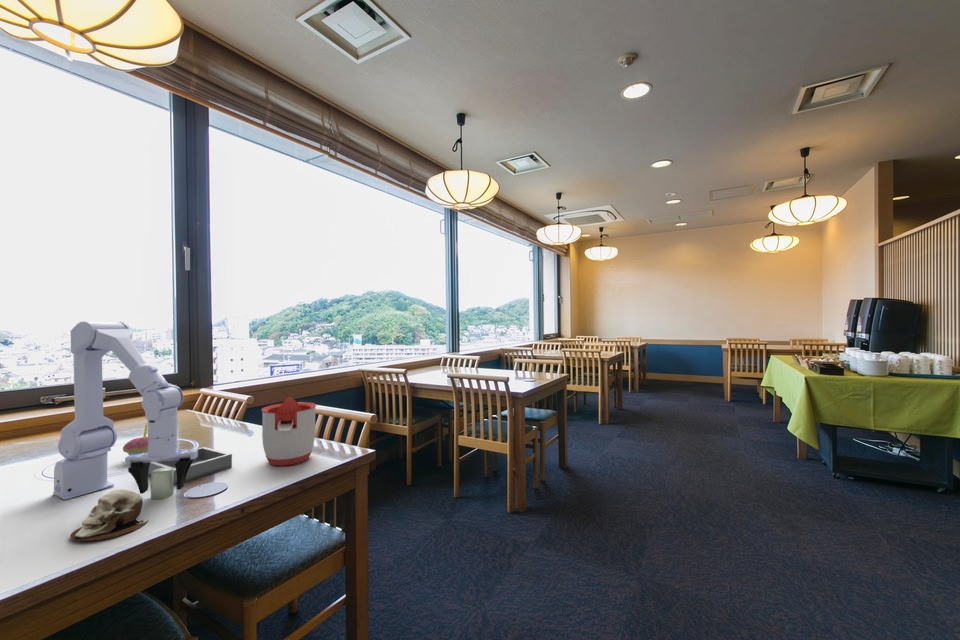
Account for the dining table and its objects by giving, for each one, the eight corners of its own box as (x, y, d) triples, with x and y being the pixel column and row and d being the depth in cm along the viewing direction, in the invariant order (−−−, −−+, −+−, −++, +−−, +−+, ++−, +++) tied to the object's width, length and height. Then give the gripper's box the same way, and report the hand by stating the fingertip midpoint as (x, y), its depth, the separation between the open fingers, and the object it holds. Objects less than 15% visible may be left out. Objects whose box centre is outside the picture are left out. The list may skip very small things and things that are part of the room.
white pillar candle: (156, 501, 95) (156, 474, 95) (147, 497, 97) (147, 471, 97) (176, 494, 99) (177, 468, 99) (168, 490, 101) (168, 465, 101)
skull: (88, 546, 74) (71, 499, 76) (72, 571, 77) (56, 525, 80) (162, 516, 84) (145, 476, 87) (145, 539, 88) (129, 500, 91)
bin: (173, 485, 104) (173, 470, 104) (146, 475, 111) (146, 461, 111) (231, 467, 117) (231, 454, 117) (204, 459, 124) (204, 446, 124)
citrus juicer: (254, 474, 112) (254, 404, 112) (266, 455, 128) (267, 394, 128) (313, 467, 116) (313, 401, 117) (318, 450, 133) (318, 391, 133)
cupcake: (165, 456, 127) (165, 419, 128) (140, 465, 119) (140, 426, 119) (141, 455, 128) (141, 418, 128) (115, 464, 120) (115, 425, 120)
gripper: (117, 443, 92) (117, 500, 92) (190, 437, 96) (189, 492, 96) (134, 435, 99) (133, 488, 98) (201, 430, 103) (200, 481, 103)
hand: (162, 490), depth 98 cm, fingers open, 7 cm apart
